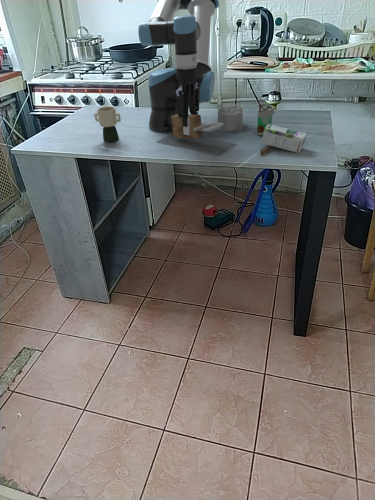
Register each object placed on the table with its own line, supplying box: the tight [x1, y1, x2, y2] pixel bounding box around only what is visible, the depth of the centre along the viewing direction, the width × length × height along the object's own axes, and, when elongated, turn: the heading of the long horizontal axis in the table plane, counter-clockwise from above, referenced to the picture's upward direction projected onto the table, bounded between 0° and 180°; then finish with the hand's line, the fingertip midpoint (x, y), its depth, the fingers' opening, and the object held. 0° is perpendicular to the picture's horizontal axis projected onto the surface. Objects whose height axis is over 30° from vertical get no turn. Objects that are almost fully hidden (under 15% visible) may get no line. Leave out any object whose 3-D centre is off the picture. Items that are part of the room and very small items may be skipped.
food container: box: [256, 103, 275, 137], centre depth 153 cm, size 12×6×10 cm, turn 168°
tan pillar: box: [171, 114, 223, 138], centre depth 145 cm, size 20×8×8 cm, turn 55°
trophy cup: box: [93, 105, 122, 143], centre depth 153 cm, size 11×7×13 cm, turn 77°
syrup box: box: [261, 124, 307, 154], centre depth 139 cm, size 6×6×14 cm
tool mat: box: [155, 132, 238, 156], centre depth 149 cm, size 30×13×1 cm, turn 55°
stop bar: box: [259, 145, 275, 156], centre depth 140 cm, size 1×12×2 cm, turn 144°
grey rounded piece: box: [217, 103, 244, 132], centre depth 162 cm, size 10×13×9 cm
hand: (189, 133), depth 148 cm, fingers closed on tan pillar, 3 cm apart
